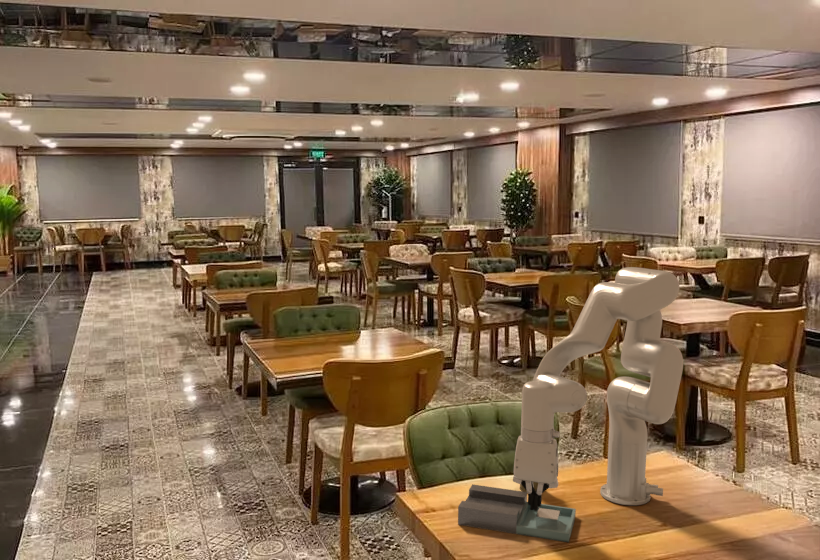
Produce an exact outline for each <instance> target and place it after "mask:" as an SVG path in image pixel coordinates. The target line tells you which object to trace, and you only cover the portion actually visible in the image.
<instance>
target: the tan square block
mask: <svg viewBox="0 0 820 560" xmlns="http://www.w3.org/2000/svg"><path fill="white" fill-rule="evenodd" d="M559 521H560V511H558V510H551V509H544V508H539V509H538V512H537V515H536V527H542V528H548V529H555V530H557V529H558V525H559Z"/></svg>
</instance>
